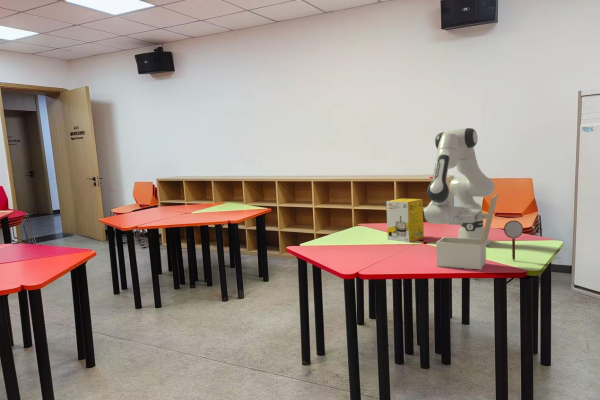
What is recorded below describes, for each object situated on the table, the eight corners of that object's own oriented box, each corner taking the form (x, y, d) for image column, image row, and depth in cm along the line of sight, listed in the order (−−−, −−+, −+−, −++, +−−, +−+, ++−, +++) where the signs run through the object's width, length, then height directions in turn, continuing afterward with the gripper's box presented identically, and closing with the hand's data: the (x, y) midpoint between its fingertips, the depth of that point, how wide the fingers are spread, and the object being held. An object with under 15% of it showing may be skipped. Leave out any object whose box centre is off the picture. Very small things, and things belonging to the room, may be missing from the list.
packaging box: (387, 239, 286) (386, 201, 283) (402, 235, 297) (401, 198, 294) (408, 242, 274) (407, 202, 271) (423, 237, 284) (422, 199, 282)
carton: (444, 260, 225) (443, 237, 224) (486, 263, 215) (485, 239, 213) (436, 266, 215) (436, 242, 213) (480, 270, 204) (480, 244, 203)
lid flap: (496, 194, 209) (498, 194, 208) (485, 239, 214) (487, 239, 213) (491, 197, 197) (493, 197, 197) (480, 244, 202) (481, 245, 202)
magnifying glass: (522, 260, 216) (522, 220, 214) (523, 261, 215) (523, 220, 213) (503, 260, 218) (503, 220, 216) (504, 261, 217) (504, 221, 215)
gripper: (452, 212, 204) (484, 212, 196) (462, 206, 221) (492, 206, 213) (452, 225, 204) (484, 226, 197) (463, 219, 221) (492, 219, 214)
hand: (488, 216), depth 205 cm, fingers closed, pressing on lid flap
